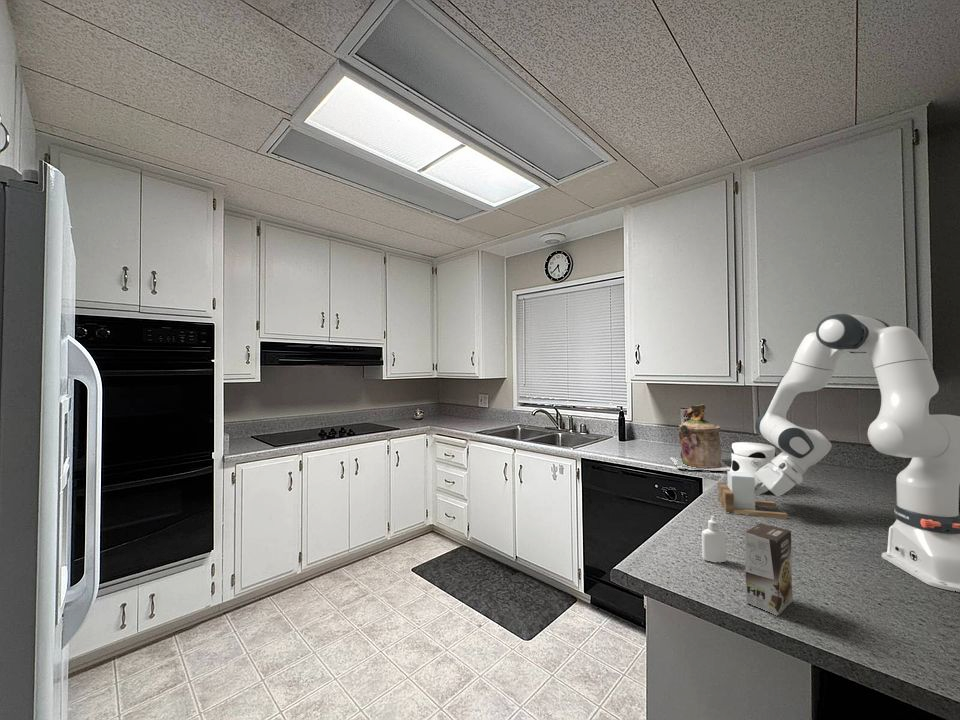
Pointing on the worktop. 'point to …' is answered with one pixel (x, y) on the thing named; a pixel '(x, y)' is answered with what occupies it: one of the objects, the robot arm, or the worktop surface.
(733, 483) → the supplement box
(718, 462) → the cookie jar
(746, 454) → the milk container
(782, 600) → the coffee box
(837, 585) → the worktop surface
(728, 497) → the stop board
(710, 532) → the eye dropper bottle
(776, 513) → the guide rails
